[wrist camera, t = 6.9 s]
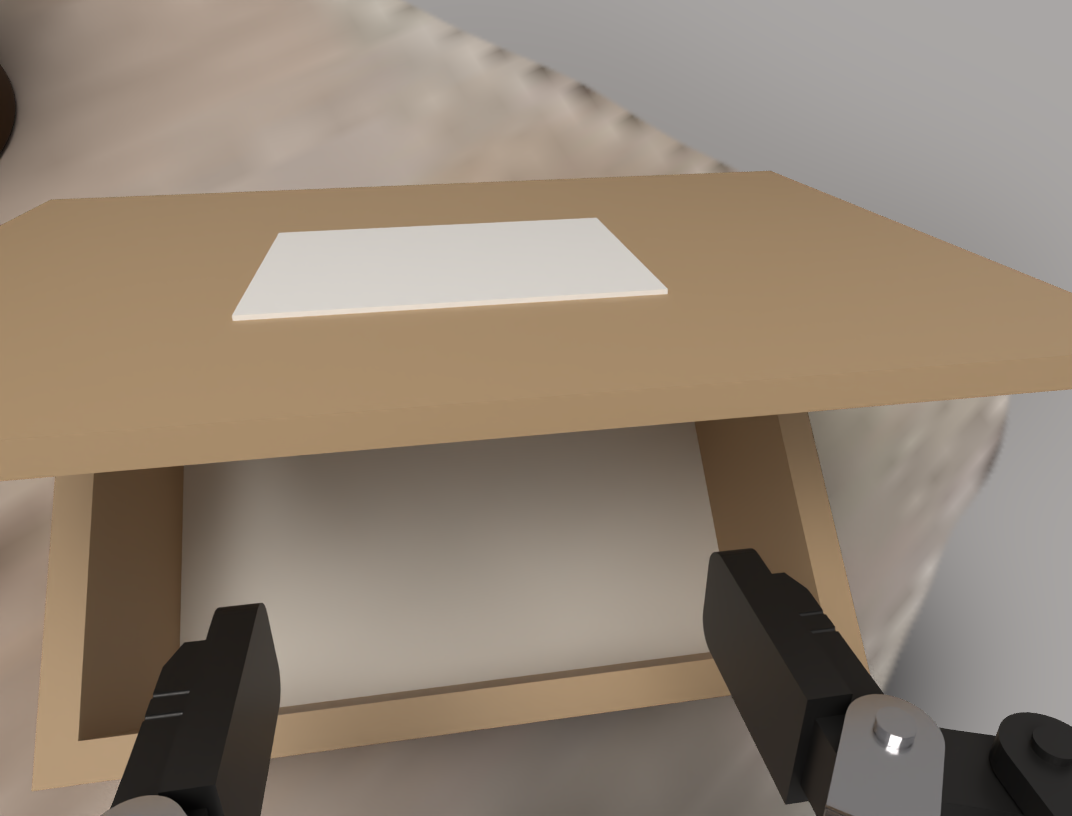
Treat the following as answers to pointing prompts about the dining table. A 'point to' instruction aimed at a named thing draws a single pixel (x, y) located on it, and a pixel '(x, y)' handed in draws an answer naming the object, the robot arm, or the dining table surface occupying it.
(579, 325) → the lid
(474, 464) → the mailer box
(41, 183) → the dining table surface
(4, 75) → the olive oil
